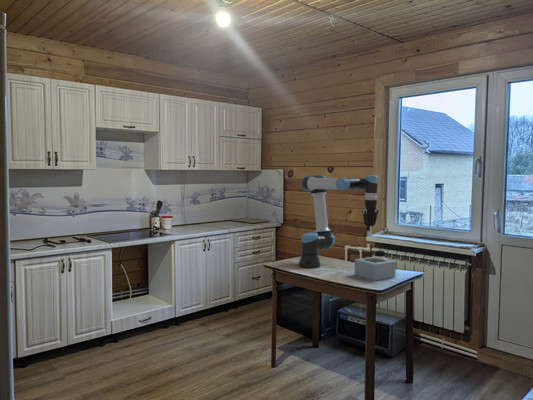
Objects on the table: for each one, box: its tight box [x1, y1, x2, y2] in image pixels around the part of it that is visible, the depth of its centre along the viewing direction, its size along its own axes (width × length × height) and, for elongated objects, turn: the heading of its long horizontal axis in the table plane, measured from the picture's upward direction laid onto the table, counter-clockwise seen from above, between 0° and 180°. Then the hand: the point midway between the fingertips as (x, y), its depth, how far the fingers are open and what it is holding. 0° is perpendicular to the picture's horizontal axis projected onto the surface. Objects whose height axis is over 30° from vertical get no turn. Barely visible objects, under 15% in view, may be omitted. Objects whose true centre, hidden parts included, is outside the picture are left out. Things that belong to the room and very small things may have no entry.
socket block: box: [354, 256, 397, 282], centre depth 271 cm, size 18×18×10 cm
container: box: [374, 249, 389, 260], centre depth 289 cm, size 8×8×13 cm
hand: (369, 235), depth 272 cm, fingers closed
